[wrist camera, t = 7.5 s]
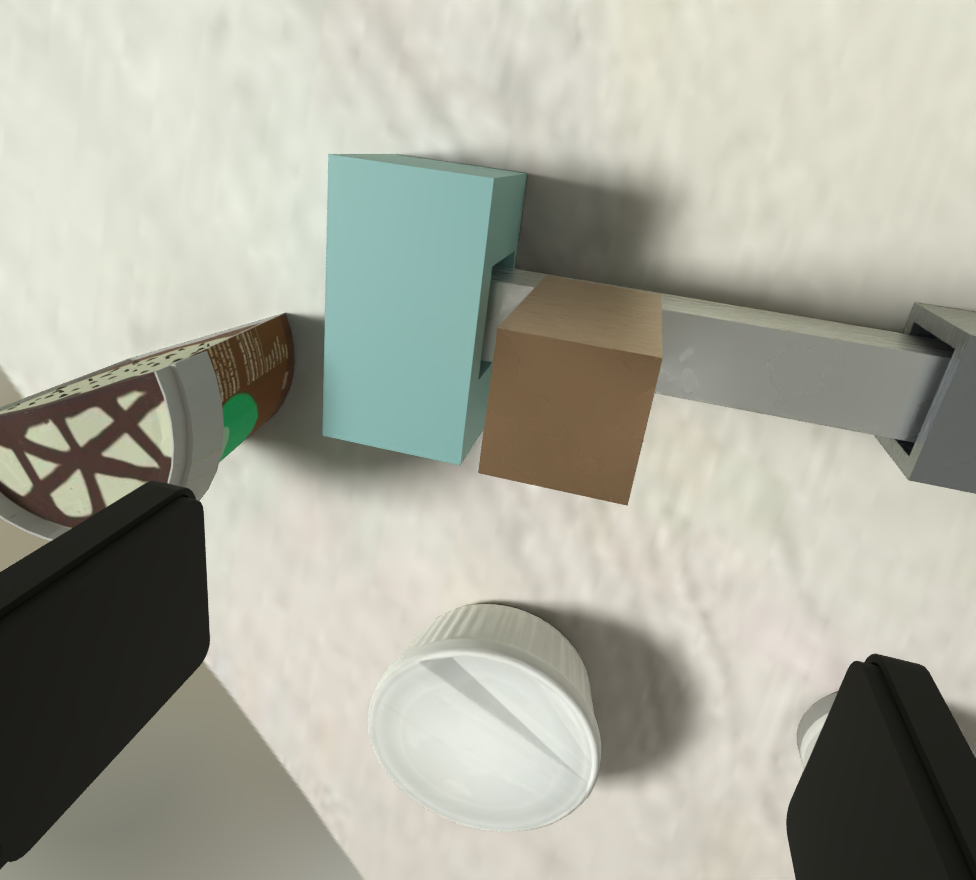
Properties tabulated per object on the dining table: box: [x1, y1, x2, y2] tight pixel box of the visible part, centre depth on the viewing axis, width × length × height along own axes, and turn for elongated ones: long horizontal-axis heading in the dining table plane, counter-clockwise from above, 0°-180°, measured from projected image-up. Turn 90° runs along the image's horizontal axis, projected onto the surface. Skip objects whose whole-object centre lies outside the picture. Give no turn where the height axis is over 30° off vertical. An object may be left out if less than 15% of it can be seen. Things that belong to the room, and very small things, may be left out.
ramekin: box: [368, 604, 601, 832], centre depth 34 cm, size 11×11×5 cm
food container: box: [0, 313, 295, 541], centre depth 29 cm, size 12×6×10 cm, turn 107°
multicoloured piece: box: [478, 265, 955, 505], centre depth 21 cm, size 19×4×11 cm, turn 83°
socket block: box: [322, 154, 528, 465], centre depth 26 cm, size 6×10×6 cm, turn 173°
